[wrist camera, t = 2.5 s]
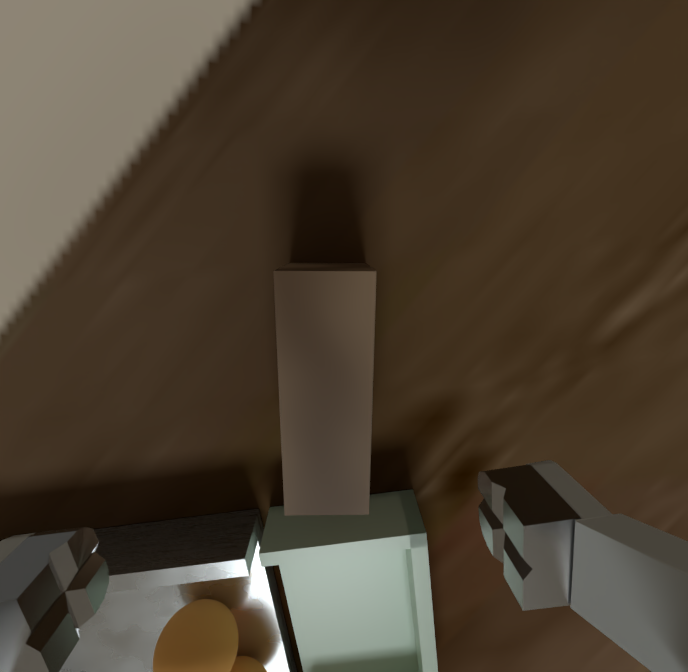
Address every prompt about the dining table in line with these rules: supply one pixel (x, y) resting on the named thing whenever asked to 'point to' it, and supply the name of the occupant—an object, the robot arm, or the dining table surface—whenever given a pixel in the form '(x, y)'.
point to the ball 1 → (198, 639)
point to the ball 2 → (247, 665)
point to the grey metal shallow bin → (182, 590)
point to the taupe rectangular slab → (325, 385)
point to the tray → (357, 586)
